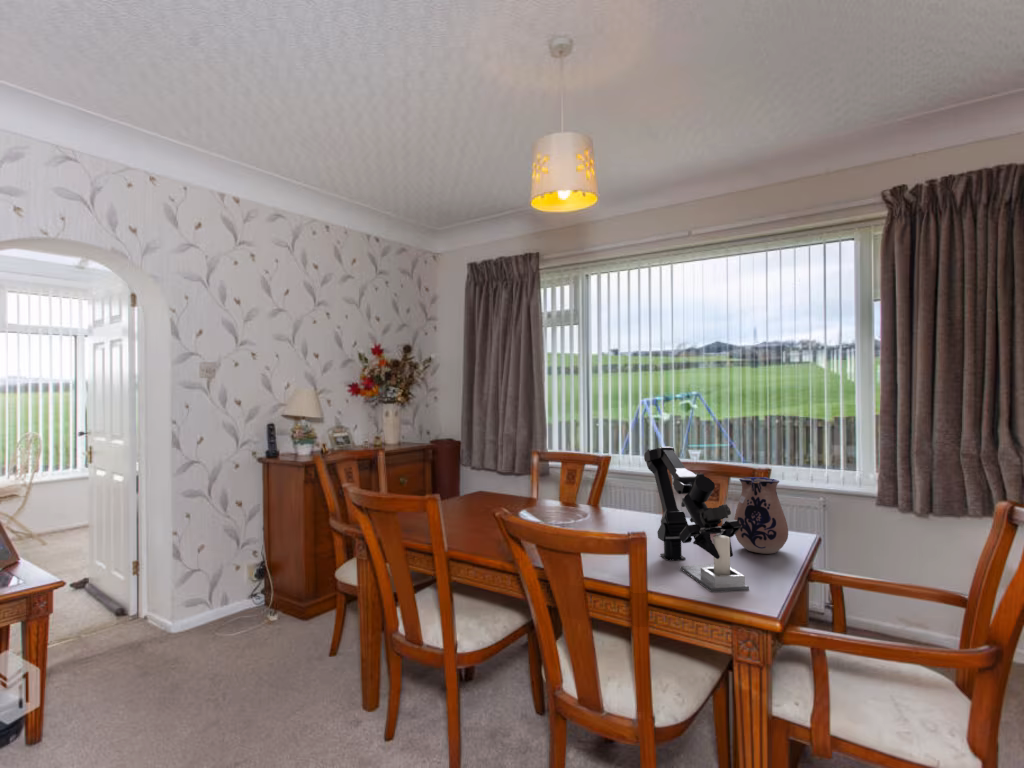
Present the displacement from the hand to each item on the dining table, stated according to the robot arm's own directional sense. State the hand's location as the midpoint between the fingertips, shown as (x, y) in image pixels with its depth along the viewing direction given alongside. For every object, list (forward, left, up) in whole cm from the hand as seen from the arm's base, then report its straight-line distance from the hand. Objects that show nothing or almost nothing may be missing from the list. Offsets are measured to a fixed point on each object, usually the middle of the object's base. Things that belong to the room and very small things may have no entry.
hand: (725, 557), depth 157 cm
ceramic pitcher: (-34, +31, -9) cm, 47 cm away
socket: (-7, 0, -8) cm, 11 cm away
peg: (-1, 0, -7) cm, 7 cm away
